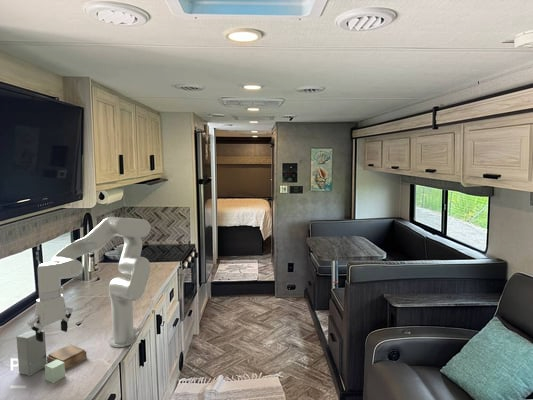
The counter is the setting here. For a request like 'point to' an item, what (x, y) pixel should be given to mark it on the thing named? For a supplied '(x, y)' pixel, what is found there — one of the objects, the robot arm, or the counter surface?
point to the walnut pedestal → (68, 355)
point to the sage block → (55, 370)
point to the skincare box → (31, 353)
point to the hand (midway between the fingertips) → (52, 335)
